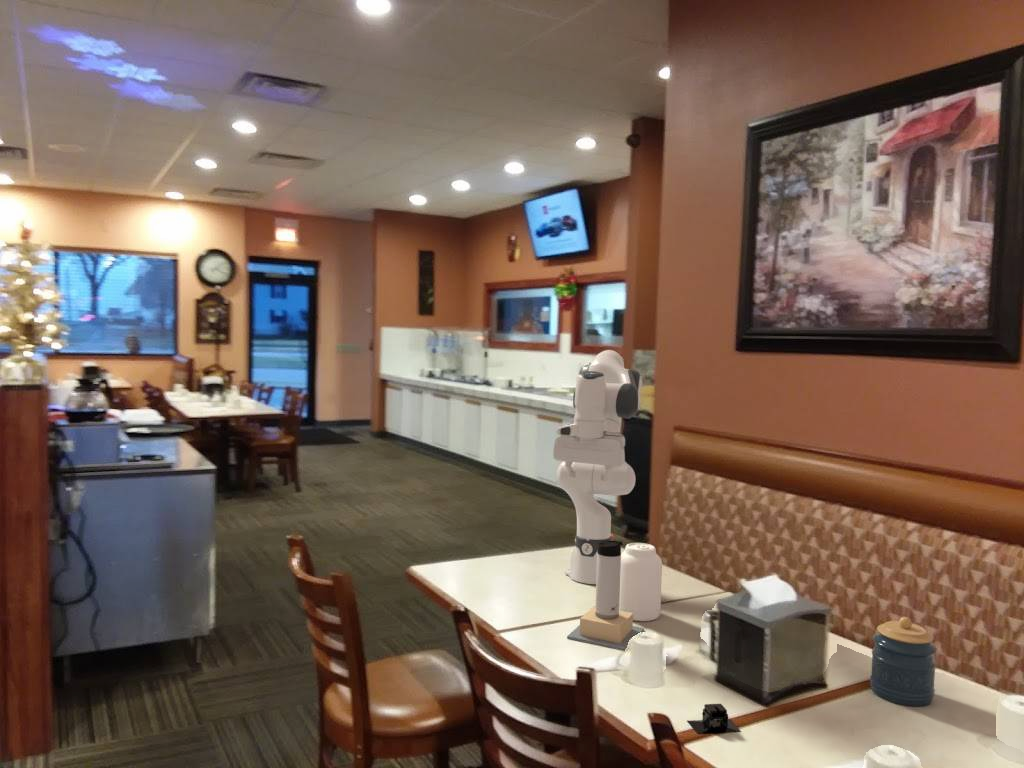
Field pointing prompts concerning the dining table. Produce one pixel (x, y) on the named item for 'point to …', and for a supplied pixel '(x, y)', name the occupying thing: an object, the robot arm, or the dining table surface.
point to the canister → (903, 663)
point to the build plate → (714, 721)
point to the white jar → (640, 582)
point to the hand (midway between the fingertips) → (587, 479)
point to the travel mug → (608, 579)
